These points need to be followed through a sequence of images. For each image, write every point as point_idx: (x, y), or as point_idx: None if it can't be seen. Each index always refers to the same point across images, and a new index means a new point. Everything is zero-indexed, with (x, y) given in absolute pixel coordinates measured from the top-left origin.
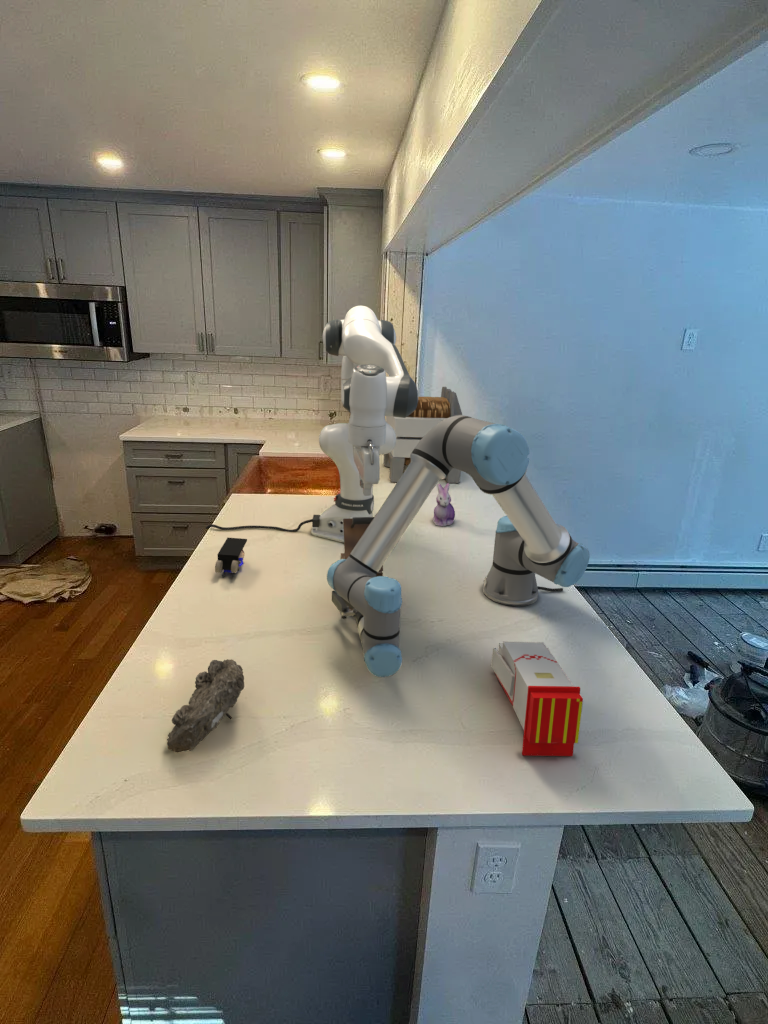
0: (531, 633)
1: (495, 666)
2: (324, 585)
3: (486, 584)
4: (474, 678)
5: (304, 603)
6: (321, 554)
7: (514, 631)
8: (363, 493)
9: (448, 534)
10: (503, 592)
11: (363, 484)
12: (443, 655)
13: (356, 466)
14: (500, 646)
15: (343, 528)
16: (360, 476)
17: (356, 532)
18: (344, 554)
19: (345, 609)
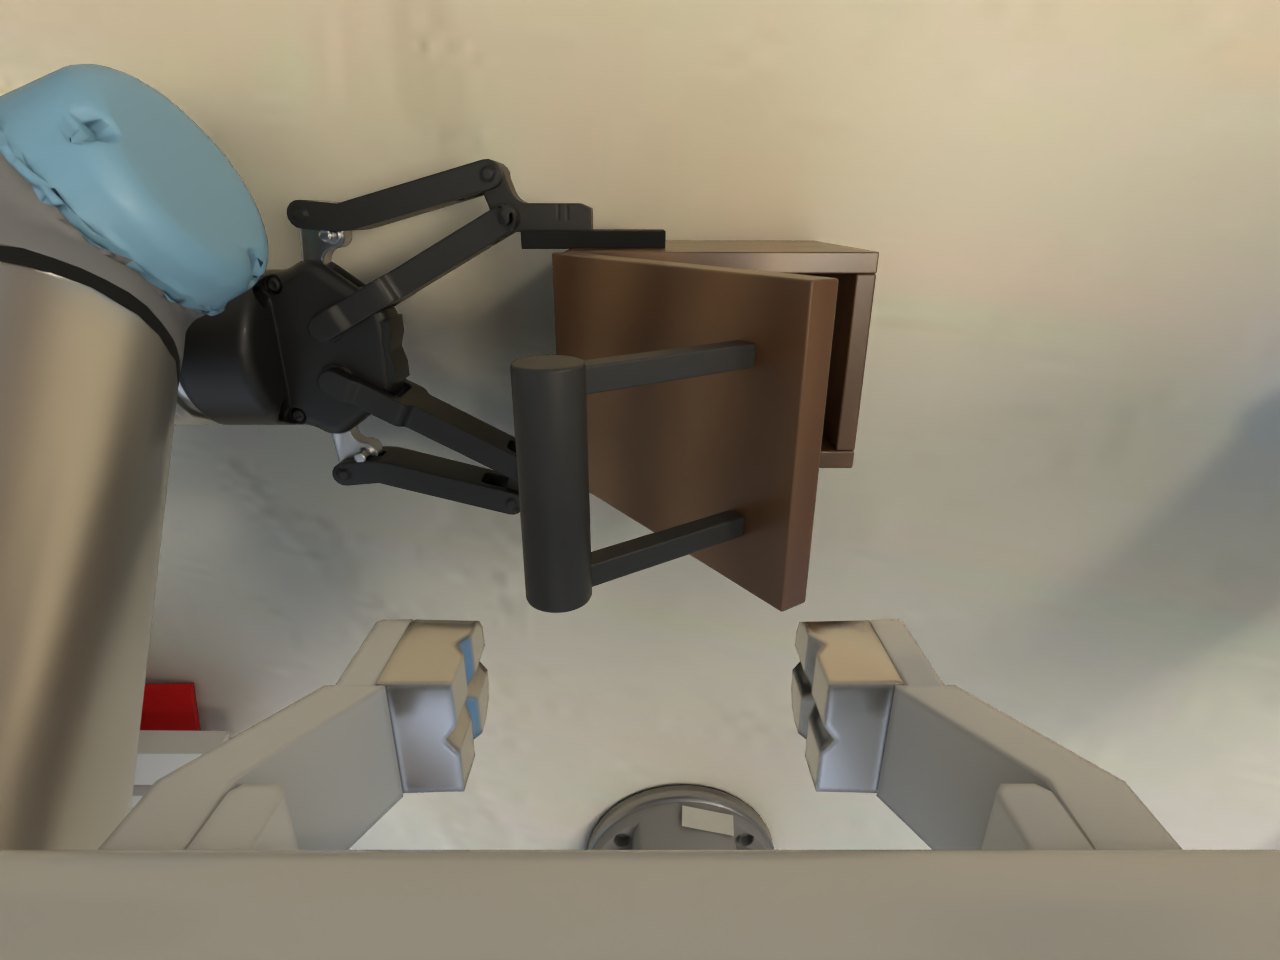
0: (425, 833)
1: None
2: (871, 160)
3: (686, 819)
4: (161, 622)
5: (693, 32)
6: (1258, 169)
7: (436, 795)
8: (395, 626)
9: (1242, 799)
10: (625, 849)
11: (814, 687)
12: (279, 565)
13: (1233, 858)
14: (189, 752)
15: (768, 271)
16: (959, 739)
17: (710, 378)
18: (856, 276)
19: (291, 220)
